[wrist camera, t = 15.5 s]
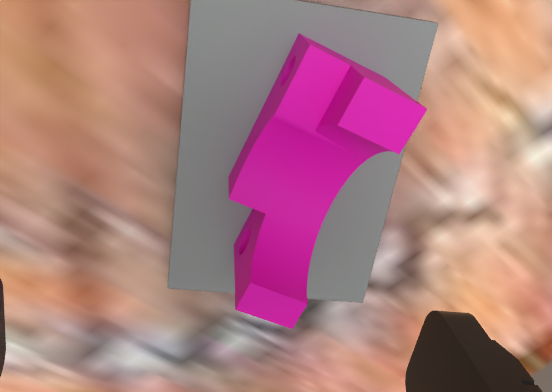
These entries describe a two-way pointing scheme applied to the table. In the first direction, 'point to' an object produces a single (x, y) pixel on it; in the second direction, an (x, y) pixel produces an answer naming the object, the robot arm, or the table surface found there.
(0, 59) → the table surface
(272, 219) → the magenta cradle holder
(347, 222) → the slate board
